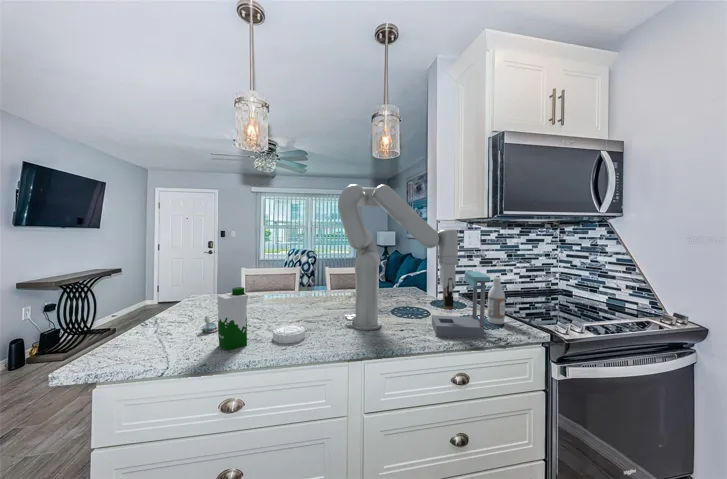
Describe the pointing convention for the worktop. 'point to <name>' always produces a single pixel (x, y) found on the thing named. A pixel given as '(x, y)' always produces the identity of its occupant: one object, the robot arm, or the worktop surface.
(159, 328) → the worktop surface
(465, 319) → the socket block
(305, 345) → the worktop surface
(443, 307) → the peg
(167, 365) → the worktop surface
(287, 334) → the mooncake
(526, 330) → the worktop surface
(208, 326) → the pacifier
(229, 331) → the milk carton
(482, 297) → the teal-topped post gate
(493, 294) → the bath foam
